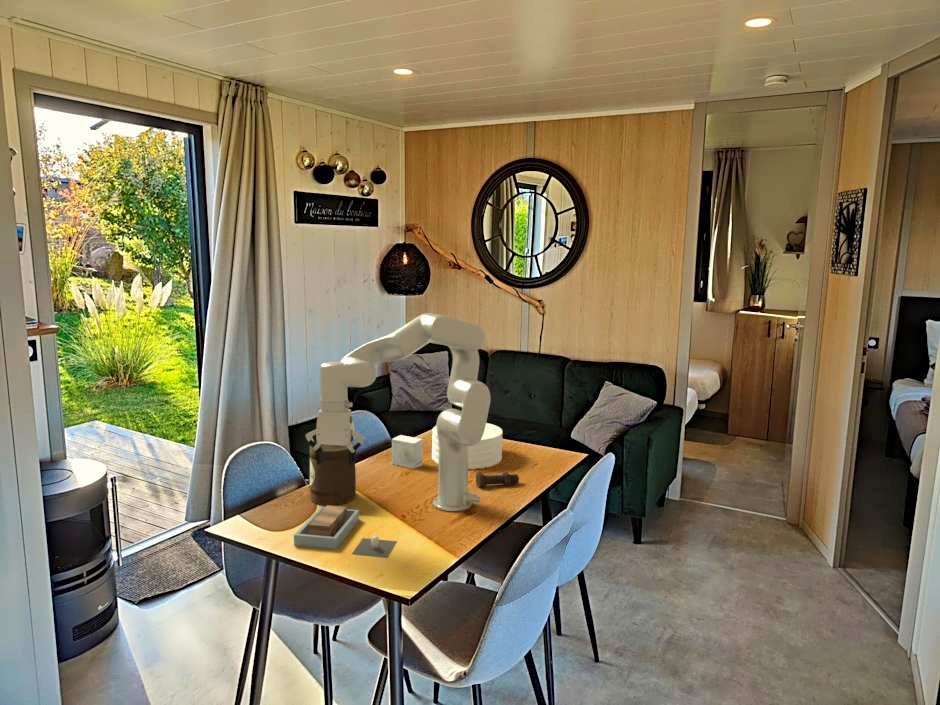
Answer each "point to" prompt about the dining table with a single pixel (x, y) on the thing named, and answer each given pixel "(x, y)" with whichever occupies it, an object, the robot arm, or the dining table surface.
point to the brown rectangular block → (328, 521)
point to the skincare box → (407, 451)
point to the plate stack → (478, 448)
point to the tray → (325, 541)
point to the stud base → (376, 552)
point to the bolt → (496, 479)
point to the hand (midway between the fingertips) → (335, 463)
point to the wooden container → (332, 476)
